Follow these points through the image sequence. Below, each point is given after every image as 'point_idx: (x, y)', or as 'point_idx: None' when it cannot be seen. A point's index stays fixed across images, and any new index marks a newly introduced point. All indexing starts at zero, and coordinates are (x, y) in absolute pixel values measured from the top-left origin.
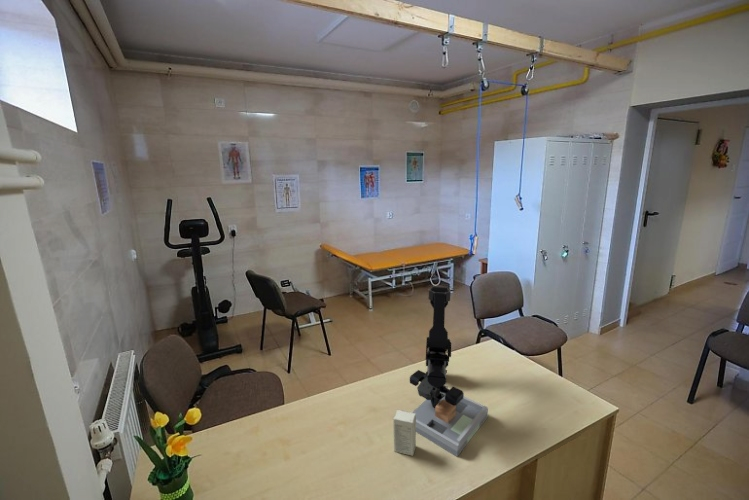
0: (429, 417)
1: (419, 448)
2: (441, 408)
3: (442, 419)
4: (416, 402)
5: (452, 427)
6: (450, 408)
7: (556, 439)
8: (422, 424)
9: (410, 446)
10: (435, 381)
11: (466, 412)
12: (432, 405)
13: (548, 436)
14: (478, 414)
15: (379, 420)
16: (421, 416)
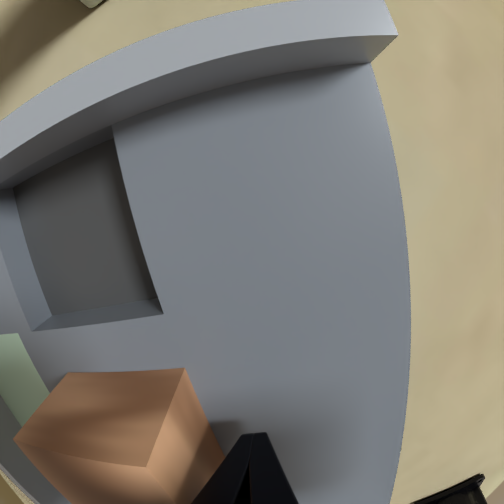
0: (203, 311)
1: (65, 28)
2: (85, 467)
3: (106, 377)
4: (455, 353)
5: (29, 359)
6: (68, 492)
7: (3, 477)
8: (66, 92)
9: None
10: None
11: None
12: (268, 448)
13: (10, 480)
14: (28, 494)
15: None
16: (274, 244)
